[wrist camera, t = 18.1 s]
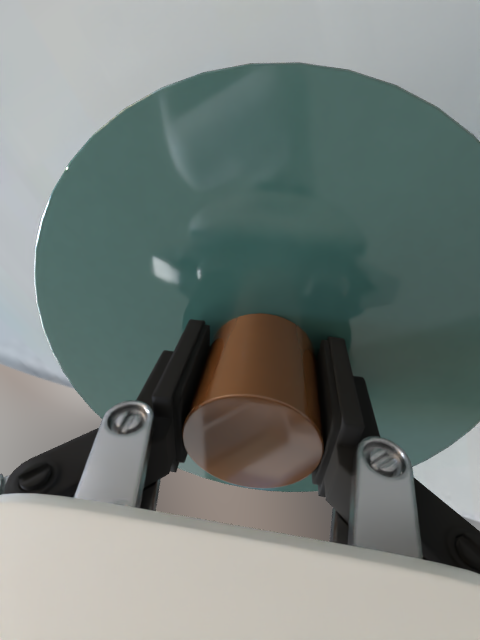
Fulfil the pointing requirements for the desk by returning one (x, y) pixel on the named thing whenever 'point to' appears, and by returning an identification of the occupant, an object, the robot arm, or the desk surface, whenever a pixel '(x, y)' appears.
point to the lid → (272, 262)
